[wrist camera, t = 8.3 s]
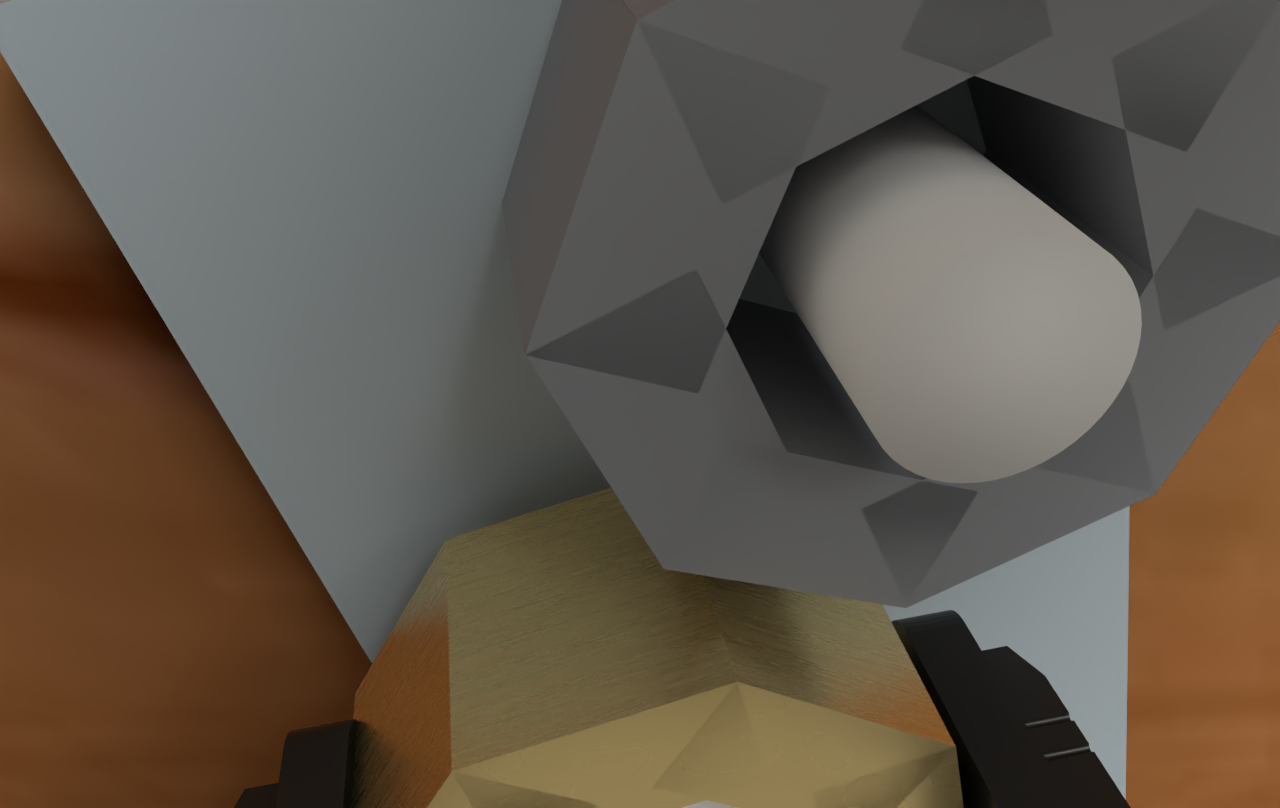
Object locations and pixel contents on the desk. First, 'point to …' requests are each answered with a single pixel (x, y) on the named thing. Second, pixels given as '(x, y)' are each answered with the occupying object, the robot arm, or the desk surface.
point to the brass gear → (636, 685)
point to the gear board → (404, 292)
